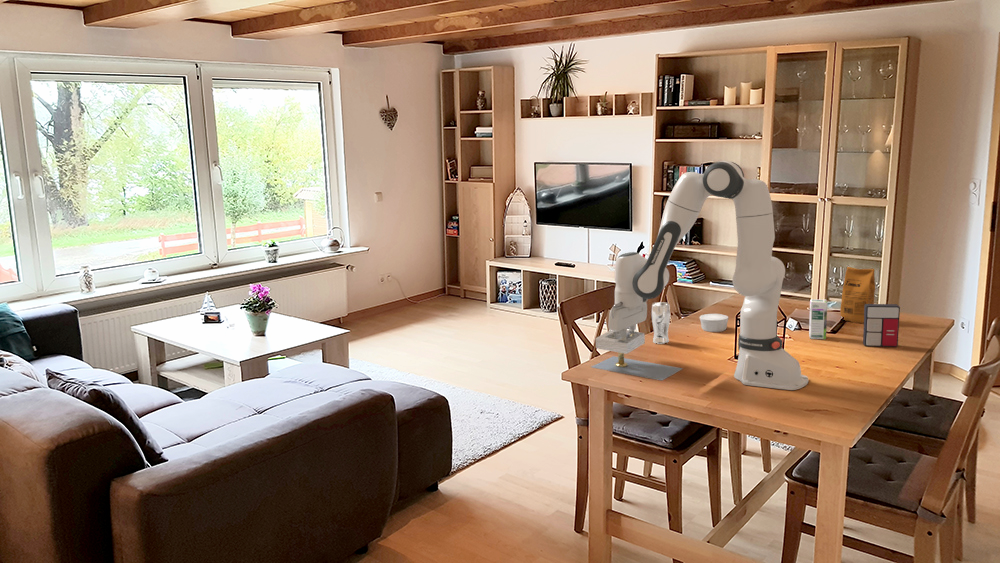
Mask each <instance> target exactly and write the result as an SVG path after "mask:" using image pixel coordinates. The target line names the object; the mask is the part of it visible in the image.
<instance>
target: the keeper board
mask: <svg viewBox="0 0 1000 563" xmlns="http://www.w3.org/2000/svg"><path fill="white" fill-rule="evenodd" d="M617 362H618V356H616V355H613V356H610V357H608V358H607V359H604V360H602V361H600V362H597V363H596V364H594V365H591V366H590V368H593V369H599V370H603V371H609V372H614V373H619V374H625V375H630V376H635V377H641V378H647V379H651V380H655V381H664V380H666V379H668V378H669V377H671V376H673V375H674V374H676V373H678V372H680V371H681V370H683V369H684V368H682V367H676V366H671V365H665V364H660V363H656V362H655V363H654V362H648V361H642V360H637V359H631V358H625V357H624V362H625V363H627V366H626V367H617V366H615V363H617Z"/></svg>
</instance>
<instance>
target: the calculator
mask: <svg viewBox="0 0 1000 563" xmlns="http://www.w3.org/2000/svg"><path fill="white" fill-rule="evenodd" d="M900 311H901V307H900V306H899V305H898V304H896V303H895V304H892V303H874V304H865V306H864V323H863V331H862V332H863V335H862V336H863V337H862V344H863V345H864V347H879V348H880V347H882V348H883V347H885V348H886V347H887V348H889V347H890V348H897V347H898V345H899V330H900Z"/></svg>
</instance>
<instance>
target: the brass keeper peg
mask: <svg viewBox="0 0 1000 563" xmlns="http://www.w3.org/2000/svg"><path fill="white" fill-rule="evenodd" d="M619 340H623V339H619ZM623 341H624V340H623ZM617 357H618V362H617V363H615V366H617V367H626V366H627V363H625V362H624V358H625V354H624V353H619V352H617Z"/></svg>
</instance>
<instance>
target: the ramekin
mask: <svg viewBox="0 0 1000 563" xmlns="http://www.w3.org/2000/svg"><path fill="white" fill-rule="evenodd" d="M699 320H700V327H701V329H702V330H703V331H705V332H709V333H710V332H711V333H720V332H724V331H725V330H726V329H727V327H728V322H729V316H728V315H725V314H721V313H705V314H701V315H700V316H699Z"/></svg>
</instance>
